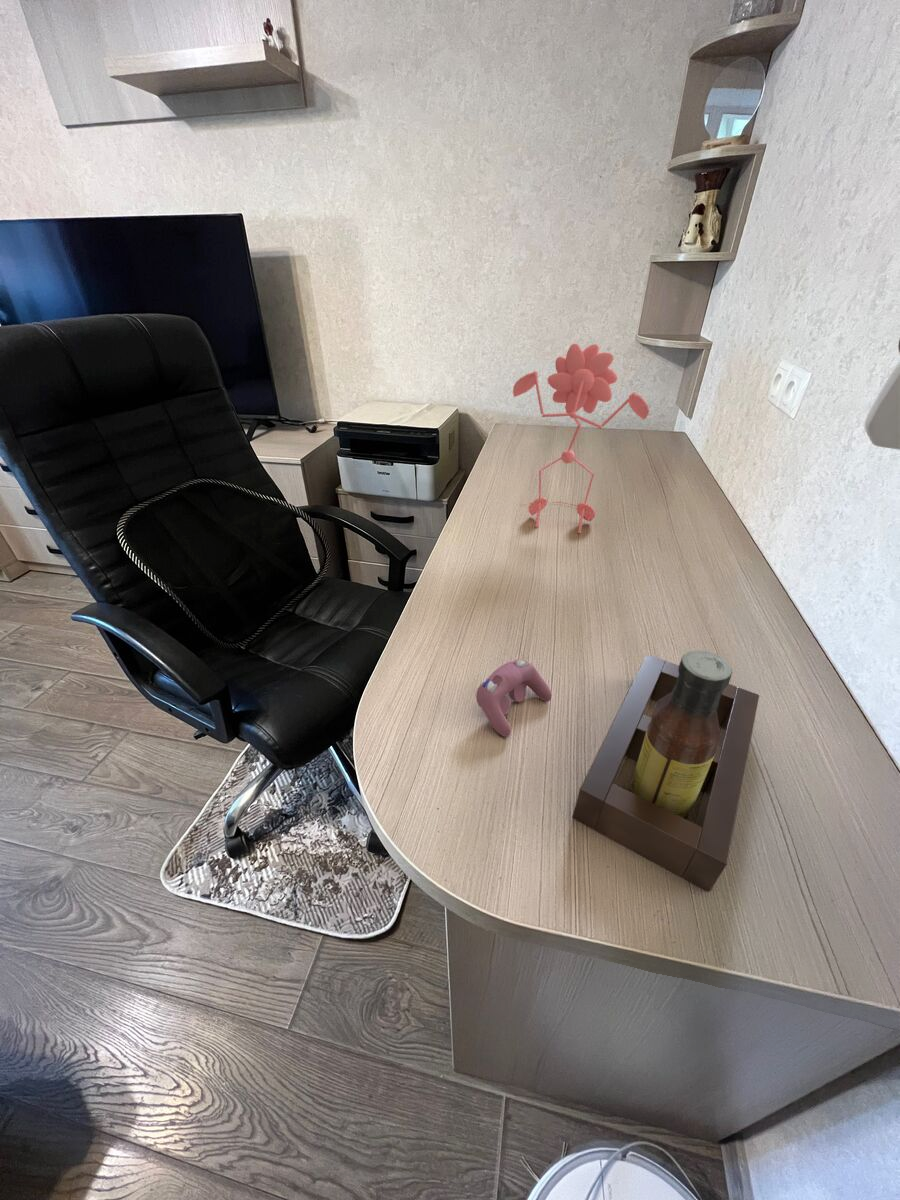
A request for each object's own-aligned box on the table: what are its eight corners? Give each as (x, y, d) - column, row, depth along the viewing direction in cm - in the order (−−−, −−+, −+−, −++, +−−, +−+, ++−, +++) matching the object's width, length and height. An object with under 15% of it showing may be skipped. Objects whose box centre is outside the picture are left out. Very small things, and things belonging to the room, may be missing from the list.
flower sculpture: (620, 541, 103) (664, 354, 83) (497, 524, 109) (511, 345, 88) (621, 511, 115) (659, 341, 95) (510, 497, 121) (524, 334, 101)
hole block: (745, 722, 63) (759, 694, 61) (709, 892, 46) (727, 864, 44) (638, 680, 69) (646, 653, 66) (571, 817, 52) (579, 789, 50)
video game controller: (530, 694, 69) (516, 648, 67) (556, 699, 65) (542, 651, 64) (481, 733, 63) (465, 685, 62) (507, 741, 60) (491, 690, 58)
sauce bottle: (697, 802, 54) (766, 665, 43) (673, 843, 50) (742, 705, 39) (640, 767, 58) (689, 632, 46) (614, 802, 54) (660, 665, 42)
